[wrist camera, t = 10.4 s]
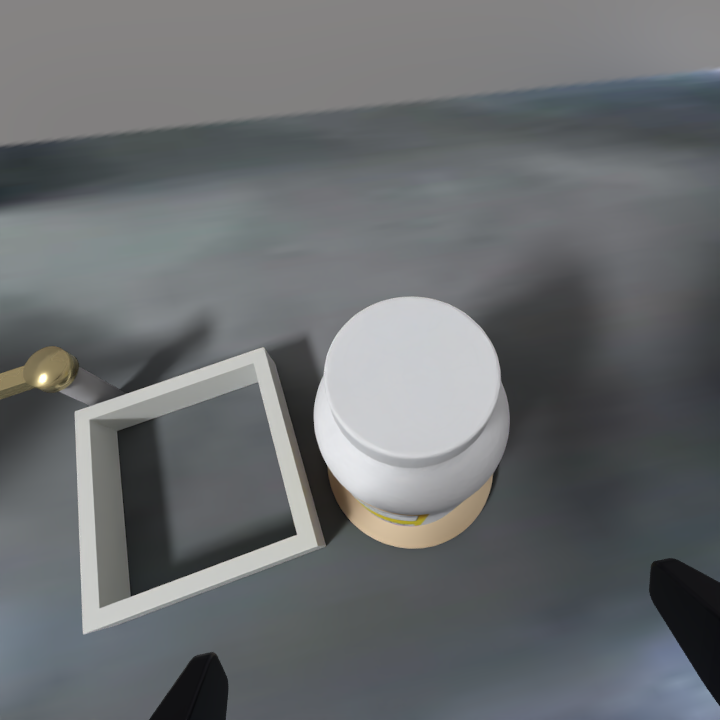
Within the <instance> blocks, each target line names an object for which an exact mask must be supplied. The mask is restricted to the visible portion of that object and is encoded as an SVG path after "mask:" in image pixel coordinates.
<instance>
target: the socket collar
mask: <svg viewBox="0 0 720 720" xmlns="http://www.w3.org/2000/svg"><path fill="white" fill-rule="evenodd" d="M257 382H259V386H260V390H261V394H262V398H263V402H264V406H265V410H266V414H267V418H268V422H269V426H270V430H271V434H272V438H273V441H274V445H275V449H276V453H277V457H278V461H279V465H280V469H281V473H282V477H283V481H284V485H285V489H286V493H287V497H288V501H289V505H290V509H291V513H292V516H293V520H294V524H295V528H296V532H297V535H295V536H292V537H290V538H287V539H284V540H282V541H279V542H276V543H273V544H271V545H268V546H265V547H263V548H260V549H257V550H255V551H252V552H249V553H247V554H244V555H241V556H239V557H236V558H233V559H231V560H228V561H225V562H223V563H220V564H217V565H215V566H212V567H209V568H207V569H204V570H201V571H199V572H196V573H193V574H190V575H188V576H185V577H182V578H180V579H177V580H174V581H172V582H169V583H166V584H164V585H161V586H158V587H156V588H153V589H150V590H148V591H145V592H142V593H140V594H137V595H134V596H132V597H131V593H130V581H129V569H128V557H127V545H126V533H125V521H124V509H123V497H122V485H121V473H120V461H119V449H118V437H117V431H119V430H122V429H124V428H127V427H130V426H133V425H136V424H139V423H142V422H145V421H148V420H150V419H153V418H156V417H159V416H162V415H165V414H168V413H171V412H173V411H176V410H179V409H182V408H185V407H188V406H191V405H194V404H197V403H199V402H202V401H205V400H208V399H211V398H214V397H217V396H220V395H222V394H225V393H228V392H231V391H234V390H237V389H240V388H243V387H246V386H248V385H251V384H254V383H257ZM59 392H61V393H63V394H65V395H68V396H70V397H72V398H74V399H76V400H78V401H81V402H83V403H85V404H87V405H89V406H90V407H87V408H84V409H81V410H78V411H75V432H76V458H77V485H78V511H79V538H80V565H81V591H82V618H83V634H86V633H90V632H94V631H97V630H101V629H105V628H108V627H112V626H116V625H119V624H121V623H124V622H127V621H129V620H132V619H135V618H137V617H140V616H143V615H145V614H148V613H150V612H153V611H156V610H158V609H161V608H164V607H166V606H169V605H172V604H174V603H177V602H180V601H182V600H185V599H188V598H190V597H193V596H196V595H198V594H201V593H204V592H206V591H209V590H212V589H214V588H217V587H219V586H222V585H225V584H227V583H230V582H233V581H235V580H238V579H241V578H243V577H246V576H249V575H251V574H254V573H257V572H259V571H262V570H265V569H267V568H270V567H273V566H275V565H278V564H280V563H283V562H286V561H288V560H291V559H294V558H296V557H299V556H302V555H304V554H307V553H310V552H312V551H315V550H318V549H320V548H323V547H326V544H325V540H324V537H323V533H322V529H321V526H320V522H319V519H318V515H317V511H316V508H315V504H314V501H313V497H312V494H311V490H310V486H309V483H308V479H307V476H306V472H305V468H304V465H303V461H302V458H301V454H300V451H299V447H298V443H297V440H296V436H295V433H294V429H293V425H292V422H291V418H290V415H289V411H288V407H287V404H286V400H285V397H284V393H283V390H282V386H281V382H280V379H279V375H278V372H277V368H276V364H275V363H274V361H273V360H272V358H271V357H270V355H269V354H268V352H267V351H266V349H265V348H264V347H262V348H259V349H256V350H253V351H251V352H248V353H245V354H242V355H239V356H236V357H233V358H230V359H227V360H224V361H221V362H218V363H215V364H212V365H210V366H207V367H204V368H201V369H198V370H195V371H192V372H189V373H186V374H183V375H180V376H177V377H174V378H171V379H169V380H166V381H163V382H160V383H157V384H154V385H151V386H148V387H145V388H142V389H139V390H136V391H133V392H130V393H128V394H127V393H125V392H123V391H122V390H120V389H118V388H116V387H114V386H113V385H111V384H109V383H107V382H106V381H104V380H102V379H100V378H99V377H97V376H95V375H93V374H92V373H90V372H88V371H86V370H85V369H83V368H81V367H79V371H78V374H77V376H76V378H75V379H74V381H73V382H72V383H71V384H70V385H69V386H68V387H66V388H65V389H63V390H61V391H59Z"/></svg>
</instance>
